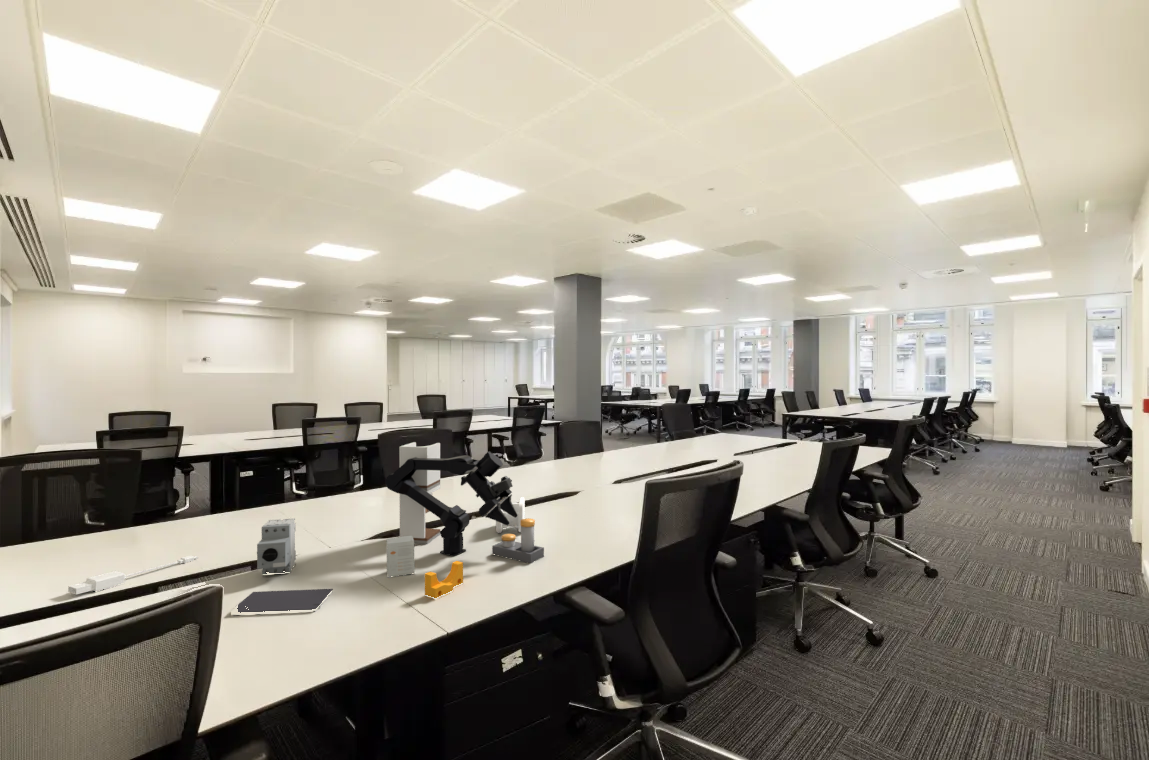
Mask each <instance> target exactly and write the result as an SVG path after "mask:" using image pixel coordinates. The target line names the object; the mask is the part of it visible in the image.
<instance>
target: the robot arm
mask: <svg viewBox="0 0 1149 760" xmlns="http://www.w3.org/2000/svg"><path fill="white" fill-rule="evenodd" d="M502 466H504V465H503V461H502V460H501V458H499V456H497V455H495V454H493V453H492V452H491V451H487V452H485V454H484V455H483V457H482V458H480V459H474V458H472V457H471V456H470V455H467V454H466V455H459V456H454V457H450V458H448V457H447V458H443V457H442V458H441V457H440V458H417V457H414V458H411V459H408V460H407V461H406V462H405V463H404V464H403V465H402V466H401V467H400V466H399V468H398V469H396V470H394V472H393V473H390V474H388V475H387V477H386V478H385V486H386V488H387V489H388V490H390V491H391V492H394V493H396V494H399V495H400V494H403V495H407V496H408V497H410V498H411V499H413V500H414V501H416V502H417V503H419V504H420V505H421V506H423V507H424V508H426V509H427V510H429V511H430V512H431V514H433V515H435V516H436V517H437V518H439V519H440V521H441V524H442V525H443V526H444V527H443V528H441V529H440V536H441V538H442V540H443V541H442V546H443V547H442V548H443V550H440V551H439V554H441V555H442V554H443V555H446V556H451V557H455V556H457V555H460V554H462V553H465V552H466V551H467V549H466V548H464V536H463V534H464V533H463V532H464V531H466V528H467V527H468V526H469V524H470V522H471V521H470V515H469V514H468V512H467V510H465V509H463V508H462V507H460V506H459V505H458V504H456V505H455V506H448V505H447V504H446V503H444V502H442V501H441V500H440V499H438V498H436V497H435V496H433V494H432V495H431V494H429V493H428V492H426V491H425V490H423V489H422V488H420V487H419V486H417V485H416V483H415V482H414V480H413V478H412V476H413V474H414V473H415V471H416V470H440V471H443V472H447V473H450V474H453V475H458V476H461V475H464V474H467V475H466V476H462V477H460V486H461V487H462V486H464V485H466V484H468V486H469V487H470V488H471V489H472V490H473V491H474V492H475V493H476V494H475V497H476V498H481V500H482V501H483V505H481V506H480V508H478V513H479V515H480V516H481V517H482V518H484V517H485V519H486V518H488V519H489V520H490V519H491V520H493V521H495V522H496V521H498V522H500V523H503V524H505V525H508V524H509V521H508V520H507V518H506V517H505V515H504V514H503V512H502V511H501V509H502V510H503V511H505V512H507V513H508V514H510V515H511V516H513V517H515V518H516V517H517V516H518V515H517V513H516V511H515V509H514V507H513V505H512V503H513V502H512V496H513V494H512V493H513V492H512V490H511V488H512V487H513V486H514V485H513V483H512V482H513V479H511V478H510V477H508V476H507V475H504V476H503V477H501V478H500V481H498V482H496V483H495V482H494V481H490V480H489V479H488V478H487V477H489V478H492V477H493V475H495V473H496V472H498V471H499V470H500V469H501V468H502ZM476 468H477V469H476ZM473 470H474V471H473ZM430 512H429V513H430Z"/></svg>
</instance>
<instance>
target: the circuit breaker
mask: <svg viewBox="0 0 1149 760" xmlns="http://www.w3.org/2000/svg"><path fill="white" fill-rule="evenodd" d="M295 520H296V518H295V517H294V518H284V519H281V518H279V519H268V521H266V522H265V523H264V524H263V525H262V526H261V539H260V540H259V542H258V543H257V544H256V555H257V557H256V559H257V560H256V561H257V562H256V563H257V564H256V565H257V567H256V569H257V570H261V575H262V574H267V573H266V572H269V573H285V572H290V571H291V569H292V568H293V566H294V565H295V562H296V560H297V555H296V536H295V535H296V531H297V530H296V526H297V525H296V522H295ZM295 566H296V565H295ZM295 566H294V567H295ZM293 569H294V568H293ZM293 569H292V570H293ZM283 571H285V572H283ZM291 572H292V571H291ZM291 572H290V573H291Z"/></svg>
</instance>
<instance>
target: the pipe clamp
mask: <svg viewBox="0 0 1149 760" xmlns="http://www.w3.org/2000/svg"><path fill="white" fill-rule="evenodd" d="M461 583H463V584H464V562H463V561H459V560H456V561H453V562H451V568H450V571H449V573H448V575H447V576H446V577H445V578H444V579H442V580H441V581H439V579H438V576H437V572H433V571H428V572H426V573H424V596H425V595H428V596H431V597H434V598H437V597H439V596H441V595H443V594H446V593H448V592H450V591H452V590H453V591H454V588H453V587H454V586H456V585H459V584H461ZM459 586H460V585H459Z"/></svg>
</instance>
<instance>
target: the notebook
mask: <svg viewBox="0 0 1149 760" xmlns="http://www.w3.org/2000/svg"><path fill="white" fill-rule="evenodd" d="M332 590H333V591H334V589H333V588H316V589H315V588H314V589H312V588H311V589H292V590H291V589H290V590H289V589H288V590H287V589H286V590H269V591H268V590H267V591H253V592H251V593H250V594H249V595H248V596H247V597H245V598H244V599H243V600H242V601H240V602H239V603H238V604H237V605H238V608H237V609H238V612H240V613H241V612H263V611H264V612H265V611H288V610H289V611H290V610H312V609H316V608H317V607H318V606H319V605H320V604H321V603H322V601H323V600H324V599H325V598H326V597H327V595H328V594H329V593H330V592H331V591H332ZM245 606H246V607H245ZM247 607H248V608H247ZM246 608H247V609H246ZM248 609H249V610H248Z"/></svg>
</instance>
